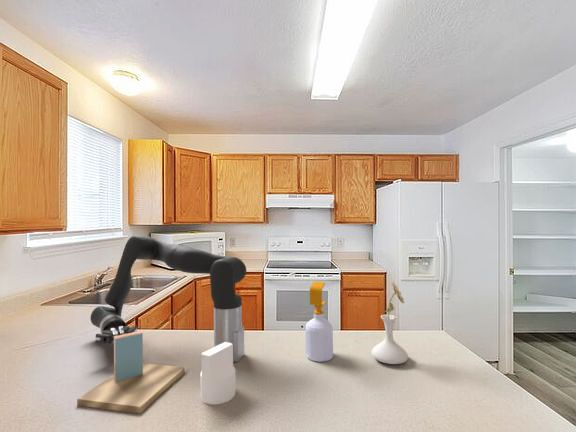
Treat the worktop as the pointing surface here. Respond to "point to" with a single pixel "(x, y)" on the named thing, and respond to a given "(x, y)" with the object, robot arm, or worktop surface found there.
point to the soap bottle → (318, 329)
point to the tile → (128, 355)
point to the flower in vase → (390, 338)
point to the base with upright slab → (217, 374)
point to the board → (132, 389)
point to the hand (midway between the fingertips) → (122, 341)
